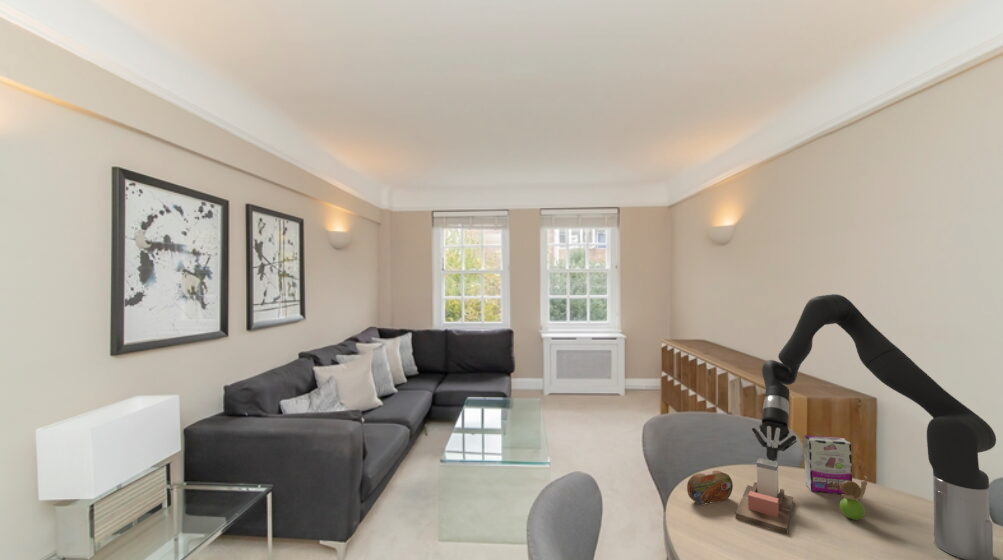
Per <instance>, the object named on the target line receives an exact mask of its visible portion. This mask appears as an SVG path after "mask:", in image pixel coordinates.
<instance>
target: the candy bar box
mask: <svg viewBox="0 0 1003 560" xmlns="http://www.w3.org/2000/svg"><path fill="white" fill-rule="evenodd" d="M803 443H804V444H803V445H804V447H803V448H804V475H805V486H806V487H807V488H808V490H810V491H811V492H813V493H823V494H830V495H841V496H842V494H844V493H843V492H842V490H841V485H842V483H843V482H845V481H853V468H852V443H851V442H850V441H848V440H847V439H846V438H845V437H835V436H819V435H806V434H803Z"/></svg>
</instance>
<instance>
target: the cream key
mask: <svg viewBox="0 0 1003 560" xmlns="http://www.w3.org/2000/svg"><path fill="white" fill-rule="evenodd" d="M756 483H757V493H760V494H763V495H767V496H771V497H775V498H778V495H779V492H780V489H779V462H778V461H776V460H775V461H771V460H769V459H765V458H762V457H758V459H757V461H756Z"/></svg>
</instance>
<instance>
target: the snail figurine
mask: <svg viewBox="0 0 1003 560" xmlns="http://www.w3.org/2000/svg"><path fill="white" fill-rule="evenodd" d="M863 478H864V479H861V480H860V485H859V484H858V483H856V482H855V481H853V480H852V481H845V482H843V483H842V485H841V490H842V492H843V493H844V494H842V495H841V496H842V497H843V498H842V499H841V500H840V501H839V509H840V511H841V513H842V514H843V515H845V517H847V518H848V519H850V520H855V521H857V520H861V519H863V518H864V517H865V516H866V510H865V507H864V505H863V504H862V503H861V501H859V499H861V498H863V497H864V495H865V493H866V489H867V486H868V482H867V481H868V476H866V475H864V476H863Z"/></svg>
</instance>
